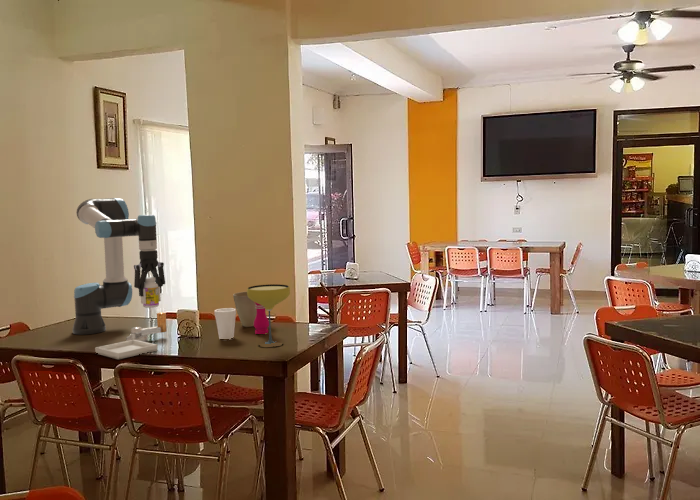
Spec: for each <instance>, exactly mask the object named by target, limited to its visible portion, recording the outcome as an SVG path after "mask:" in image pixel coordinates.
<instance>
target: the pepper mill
mask: <svg viewBox="0 0 700 500" xmlns="http://www.w3.org/2000/svg"><path fill="white" fill-rule="evenodd" d="M255 304H256V305H255V306H256V307H255V308H256V310H257V314H256V318H255V320H254V326H253V327H254V328H255V329H254V335H256V334H265V333H268V332H269V317H268V316H267V314H266V309H265V307H264V306H262V305H260V304H258V303H256V302H255ZM268 334H269V333H268ZM265 335H266V334H265Z"/></svg>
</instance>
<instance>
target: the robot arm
mask: <svg viewBox="0 0 700 500" xmlns="http://www.w3.org/2000/svg"><path fill="white" fill-rule="evenodd" d="M129 213H130V212H129V208H128V205H127V203H126V201H125V200H124V199H123V198H118V197H117V198H116V197H111V198H109V197H108V198H107V197H105V198H89V199H87V200H84V201H82V202H81V203H80V204H79V205H78V207H77V208H76V217H77V219H78V221H80V222H81V223H82V224H85V225H89V226H91V227H92V228H94V233H95V235H96V237H97V238H100V239H103V244H104V245H103V246H104V247H103V248H104V264H105V278H104V279H103V280H102V284H100V282H90V283H85V284H81V285H78V286H76V287H75V288H74V291H73V292H74V293H73V298H74V311H75V319H74V321H73V322H74V323H73V326H72V334H73V335H81V336H82V335H94V334H95V335H96V334H99V333H103V332H105V331H106V330H107V326H106V323H105V321H104V318H103V315H102V309H109V308H111V309H112V308H121V307H124V306H125V307H126V306H128V305H129V304H130V302H131V301H132V298H133V286H132V284H131V282H129V281H128V278H126V277H125V270H124V269H125V266H124V265H125V263H124V247H123V245H124V244H123V238H125V237H138V249H139V252H138V253H139V260H140V261H139V263H138V264H134V265H133V269H134V282H133V284H134V288H135V289H138V296H139V297H140V303H141V304H142V305H143V304H146V293H145V289H143V288H144V284H145V280H146V278H147V276H148V274H149V273H151V274H152V277H155V283H157V284H158V295H159V302H161V301H162V300H161V298H162V297H161V294H162V291H163V290H162V287H163V286H164V285H165V284H166V278H165V272H164V265H165V263H164V262H160V261H158V257H159V256H158V250H157V249H158V243H157V242H158V241H157V237H158V236H157V220H156V215H154V214H140V215H137V218H131V219H129V217H130V214H129Z"/></svg>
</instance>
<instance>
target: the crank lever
mask: <svg viewBox="0 0 700 500" xmlns="http://www.w3.org/2000/svg"><path fill="white" fill-rule="evenodd" d="M156 323H157V324H156V326H149V327H143V328H142V327H141V326H135V327H131V328H130V334H135V337H138V336H142V335H147V336H148V335H155V334H159V333H166V332H167V327H168V326H167V313H166V312H157V313H156Z"/></svg>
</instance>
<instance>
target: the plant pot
mask: <svg viewBox="0 0 700 500" xmlns="http://www.w3.org/2000/svg"><path fill="white" fill-rule="evenodd" d="M232 296H233V297H232V298H233V302H234V306H235V309H236V314H237V316H238V318H239V321H240V324H241V326H242V327H245V328H248V327H249V328H250V327H254V320H255V318H256V314H257V310H256V308H255V307H256V306H255V305H256V304H255V302H254V301H252V300H251V299H249V298H248V295H247V291H241V292H236V293H233V295H232Z"/></svg>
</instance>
